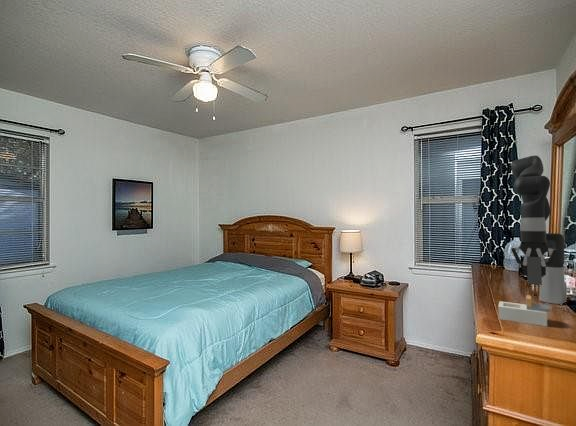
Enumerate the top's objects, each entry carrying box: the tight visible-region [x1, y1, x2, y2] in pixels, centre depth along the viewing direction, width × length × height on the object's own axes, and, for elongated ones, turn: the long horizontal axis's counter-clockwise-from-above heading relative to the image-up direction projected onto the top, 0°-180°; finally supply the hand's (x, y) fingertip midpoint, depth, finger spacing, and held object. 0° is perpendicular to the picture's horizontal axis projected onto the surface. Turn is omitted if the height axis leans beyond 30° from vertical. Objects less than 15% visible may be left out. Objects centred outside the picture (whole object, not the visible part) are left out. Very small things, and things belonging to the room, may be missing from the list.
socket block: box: [498, 300, 548, 327], centre depth 123 cm, size 10×15×5 cm, turn 53°
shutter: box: [525, 294, 551, 313], centre depth 120 cm, size 7×7×4 cm
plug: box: [526, 256, 542, 286], centre depth 114 cm, size 4×4×12 cm
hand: (534, 275), depth 114 cm, fingers closed on plug, 4 cm apart
